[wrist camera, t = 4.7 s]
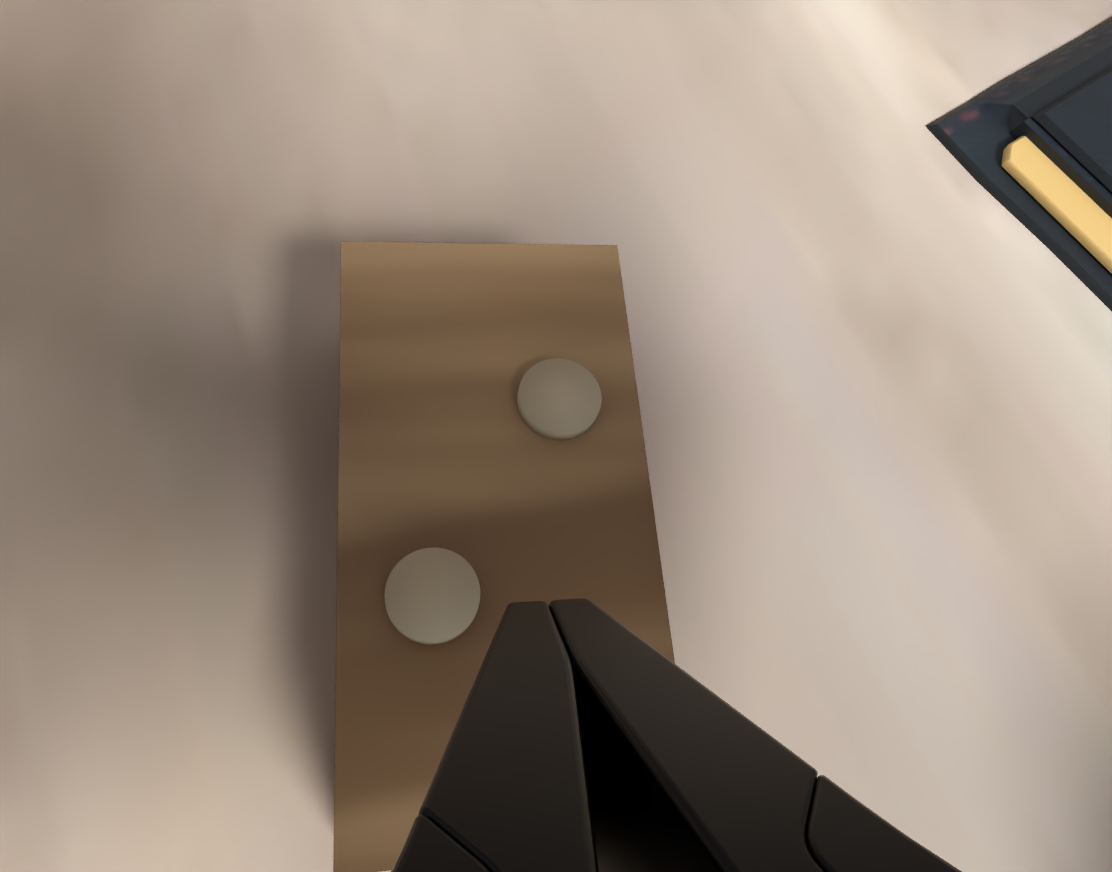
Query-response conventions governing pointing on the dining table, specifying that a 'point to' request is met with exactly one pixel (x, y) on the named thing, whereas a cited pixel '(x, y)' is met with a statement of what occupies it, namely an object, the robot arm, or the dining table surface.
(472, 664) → the brown rectangular box
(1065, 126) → the grey notebook
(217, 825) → the dining table surface
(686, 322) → the dining table surface
